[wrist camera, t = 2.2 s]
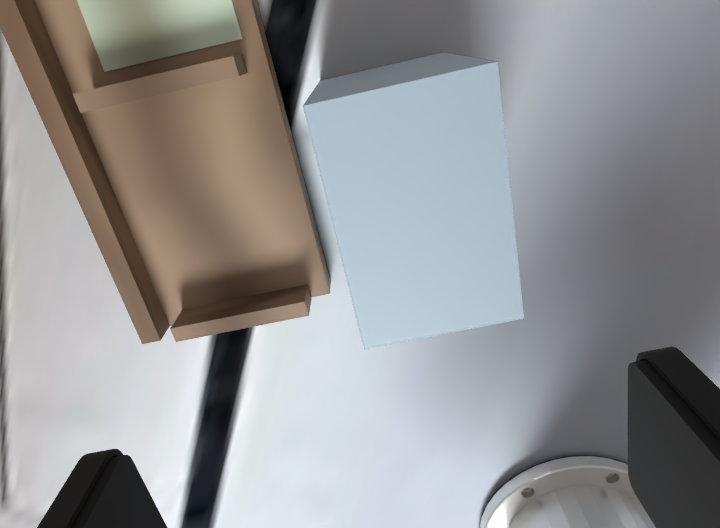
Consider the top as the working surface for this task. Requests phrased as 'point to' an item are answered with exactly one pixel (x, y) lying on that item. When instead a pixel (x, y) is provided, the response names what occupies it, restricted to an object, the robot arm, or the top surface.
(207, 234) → the brown wooden shallow tray
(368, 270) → the blue-grey rectangular block
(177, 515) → the top surface
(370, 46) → the top surface
